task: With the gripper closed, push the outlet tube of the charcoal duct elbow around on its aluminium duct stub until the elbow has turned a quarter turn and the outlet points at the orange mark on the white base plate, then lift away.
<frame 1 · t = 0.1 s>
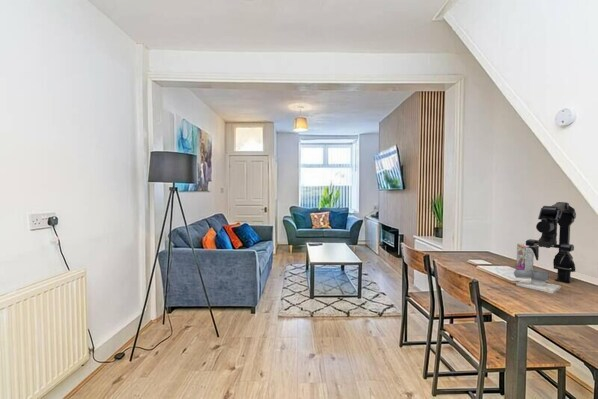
hand: (548, 262, 167), 15 cm above the table, tool pointing down, fingers open, 9 cm apart
duct base: (538, 286, 174), on the table
candy bar box: (524, 272, 202), on the table
duct elbow: (531, 274, 174), point 7 cm above the table, hinge at 0.0°
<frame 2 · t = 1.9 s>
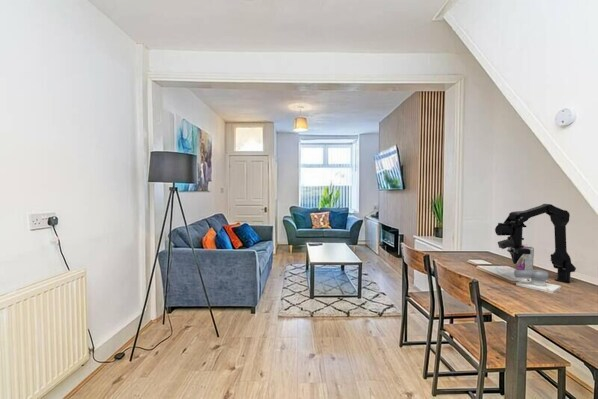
hand: (514, 263, 181), 10 cm above the table, tool pointing down, fingers closed
nothing on the table moved.
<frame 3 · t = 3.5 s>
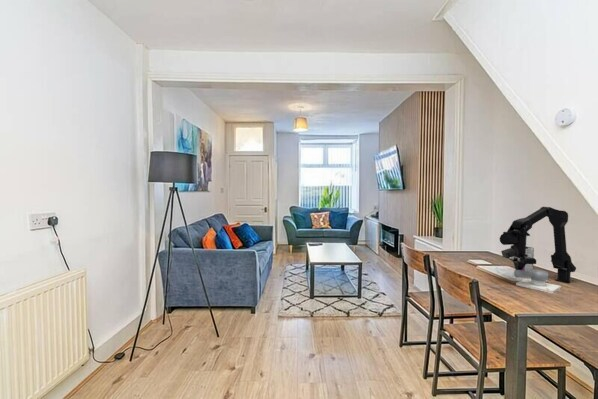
hand: (518, 273, 177), 6 cm above the table, tool pointing down, fingers closed
duct elbow: (531, 274, 174), point 7 cm above the table, hinge at 0.1°, touching gripper
everything else where it was.
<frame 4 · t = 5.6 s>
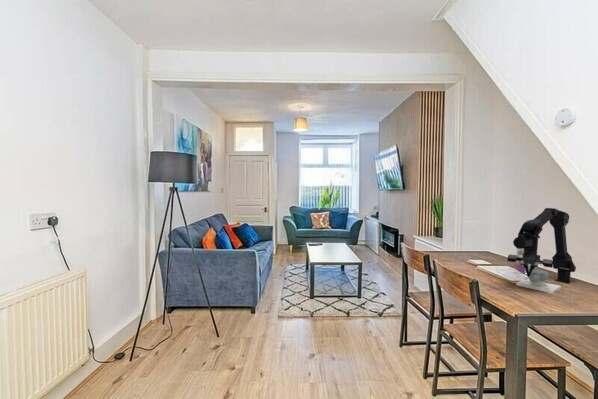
hand: (528, 277, 170), 6 cm above the table, tool pointing down, fingers closed
duct elbow: (537, 275, 171), point 7 cm above the table, hinge at 50.6°, touching gripper
everything else where it was.
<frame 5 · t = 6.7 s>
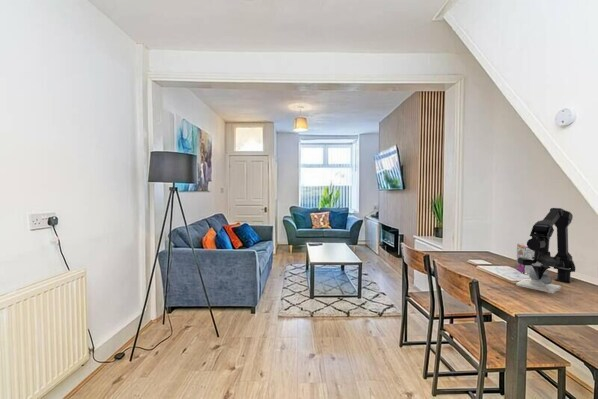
hand: (539, 279, 166), 6 cm above the table, tool pointing down, fingers closed
duct elbow: (541, 276, 170), point 7 cm above the table, hinge at 78.9°, touching gripper
everything else where it was.
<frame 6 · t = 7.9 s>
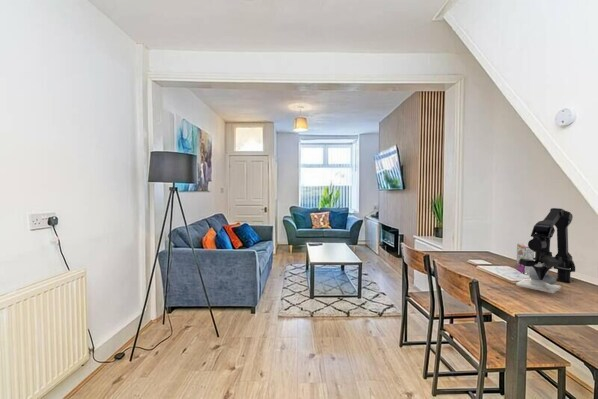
hand: (540, 279, 165), 6 cm above the table, tool pointing down, fingers closed
duct elbow: (542, 276, 170), point 7 cm above the table, hinge at 89.4°
everything else where it was.
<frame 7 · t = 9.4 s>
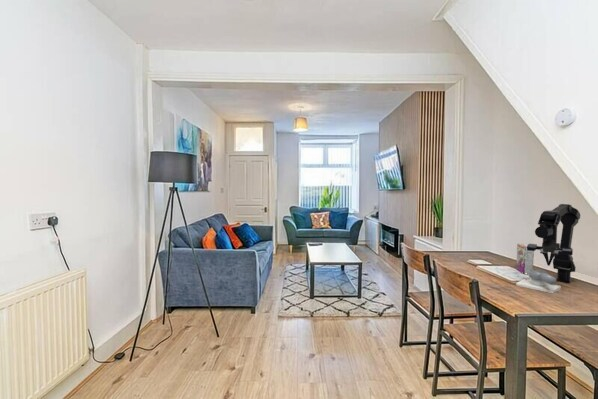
hand: (548, 265, 173), 11 cm above the table, tool pointing down, fingers closed
nothing on the table moved.
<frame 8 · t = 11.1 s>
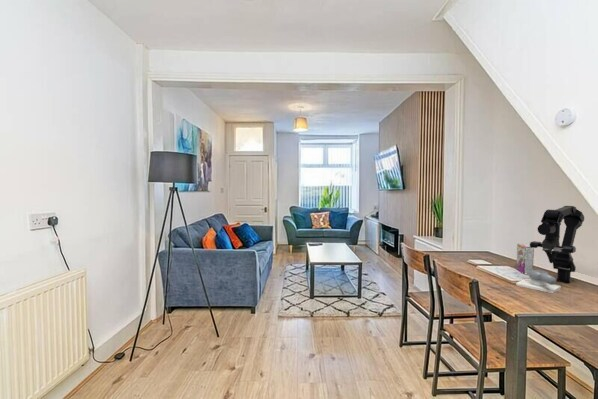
hand: (551, 263, 176), 12 cm above the table, tool pointing down, fingers closed
nothing on the table moved.
at the end: duct elbow at +89° (first picture: +0°) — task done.
